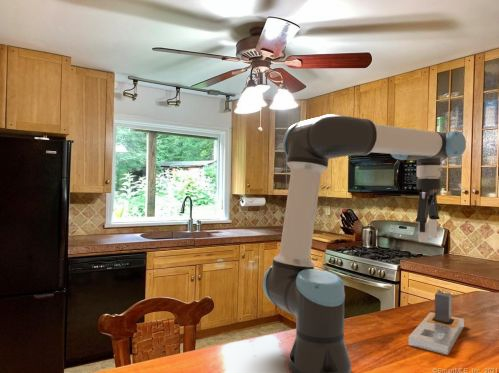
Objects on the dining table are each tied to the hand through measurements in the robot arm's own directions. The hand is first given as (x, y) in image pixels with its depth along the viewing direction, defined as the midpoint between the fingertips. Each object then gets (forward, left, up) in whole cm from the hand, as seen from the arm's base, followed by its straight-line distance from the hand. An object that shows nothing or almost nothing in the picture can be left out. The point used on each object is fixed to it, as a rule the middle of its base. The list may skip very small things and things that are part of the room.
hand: (427, 239), depth 130 cm
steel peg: (+6, -8, -27) cm, 29 cm away
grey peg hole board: (+6, -15, -27) cm, 31 cm away
